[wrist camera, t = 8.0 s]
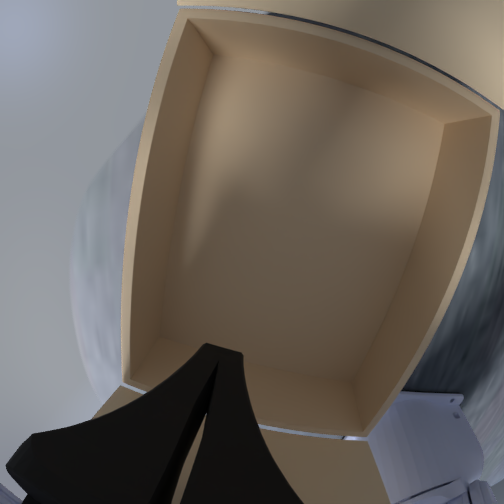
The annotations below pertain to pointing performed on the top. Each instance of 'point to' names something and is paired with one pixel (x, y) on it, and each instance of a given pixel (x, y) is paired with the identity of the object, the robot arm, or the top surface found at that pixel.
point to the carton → (299, 214)
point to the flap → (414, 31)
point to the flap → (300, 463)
